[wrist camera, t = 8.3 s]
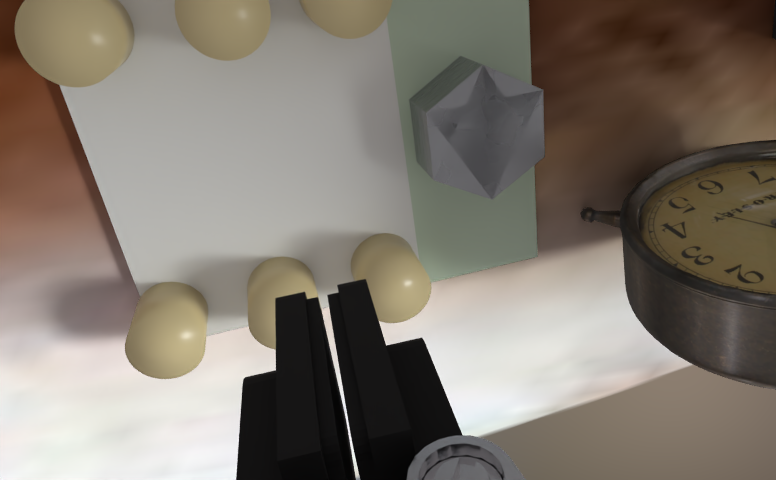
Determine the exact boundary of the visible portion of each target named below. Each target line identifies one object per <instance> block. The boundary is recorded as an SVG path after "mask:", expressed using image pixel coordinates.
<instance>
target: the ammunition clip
mask: <svg viewBox="0 0 776 480" xmlns="http://www.w3.org/2000/svg"><path fill="white" fill-rule="evenodd" d="M773 38H774V39H775V40H776V0H775V10H774V24H773Z"/></svg>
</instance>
